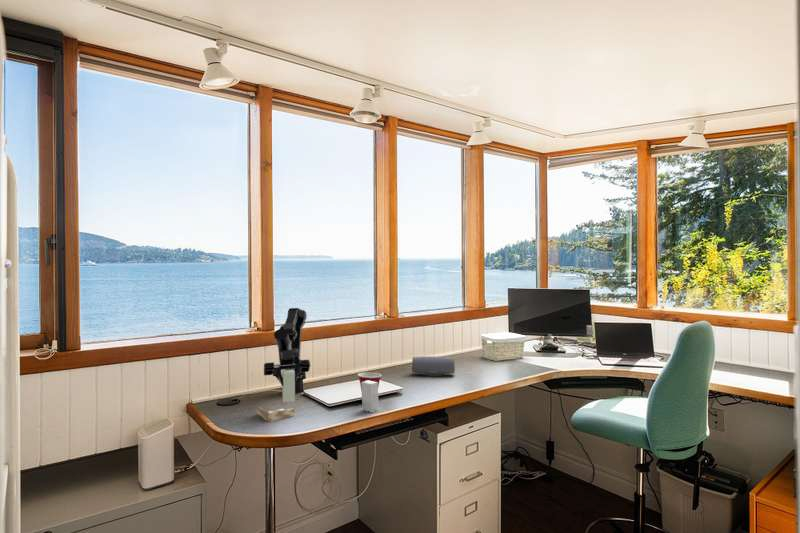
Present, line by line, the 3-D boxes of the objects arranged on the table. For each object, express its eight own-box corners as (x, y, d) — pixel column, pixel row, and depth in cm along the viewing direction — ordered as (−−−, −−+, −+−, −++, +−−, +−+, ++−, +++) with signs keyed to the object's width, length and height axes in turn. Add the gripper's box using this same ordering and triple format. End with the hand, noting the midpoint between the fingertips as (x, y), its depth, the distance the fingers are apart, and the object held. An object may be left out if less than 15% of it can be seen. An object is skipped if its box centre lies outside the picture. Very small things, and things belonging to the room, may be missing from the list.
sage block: (293, 398, 202) (293, 369, 202) (295, 401, 198) (294, 372, 198) (282, 399, 201) (282, 370, 200) (283, 402, 196) (283, 373, 196)
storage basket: (510, 354, 319) (510, 331, 318) (526, 358, 304) (526, 335, 303) (479, 357, 309) (479, 334, 308) (494, 362, 294) (494, 338, 294)
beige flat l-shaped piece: (283, 409, 206) (283, 402, 206) (294, 415, 197) (294, 408, 197) (257, 414, 200) (257, 407, 199) (268, 421, 191) (268, 414, 191)
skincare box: (379, 410, 203) (378, 382, 203) (371, 413, 200) (371, 384, 200) (369, 407, 208) (368, 379, 207) (361, 410, 204) (361, 381, 204)
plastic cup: (386, 398, 220) (386, 372, 220) (373, 405, 211) (373, 377, 210) (366, 395, 226) (366, 369, 225) (353, 401, 216) (352, 374, 216)
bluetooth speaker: (454, 373, 267) (454, 355, 267) (454, 377, 258) (454, 358, 258) (413, 372, 270) (413, 354, 269) (412, 376, 260) (411, 358, 260)
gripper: (263, 343, 199) (266, 376, 189) (309, 340, 205) (314, 372, 195) (262, 358, 207) (264, 391, 197) (306, 355, 213) (311, 386, 203)
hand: (288, 385), depth 198 cm, fingers closed on sage block, 4 cm apart
